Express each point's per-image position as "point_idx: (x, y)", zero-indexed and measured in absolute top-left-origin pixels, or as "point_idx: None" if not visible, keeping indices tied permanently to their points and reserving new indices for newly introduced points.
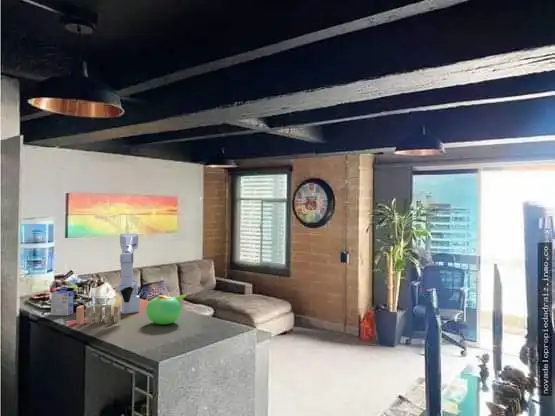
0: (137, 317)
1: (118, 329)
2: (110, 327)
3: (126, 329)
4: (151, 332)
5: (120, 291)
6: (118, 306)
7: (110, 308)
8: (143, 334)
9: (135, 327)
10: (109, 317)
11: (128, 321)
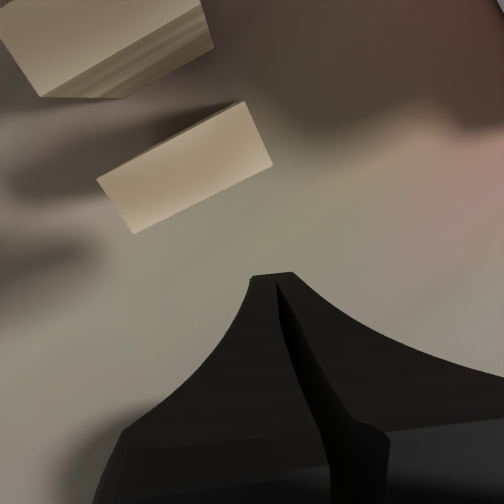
0: (373, 231)
1: (23, 318)
2: (22, 228)
3: (57, 362)
4: (93, 494)
5: (145, 423)
6: (160, 220)
7: (155, 45)
8: (41, 484)
9: (125, 381)
10: (138, 81)
11: (236, 244)
